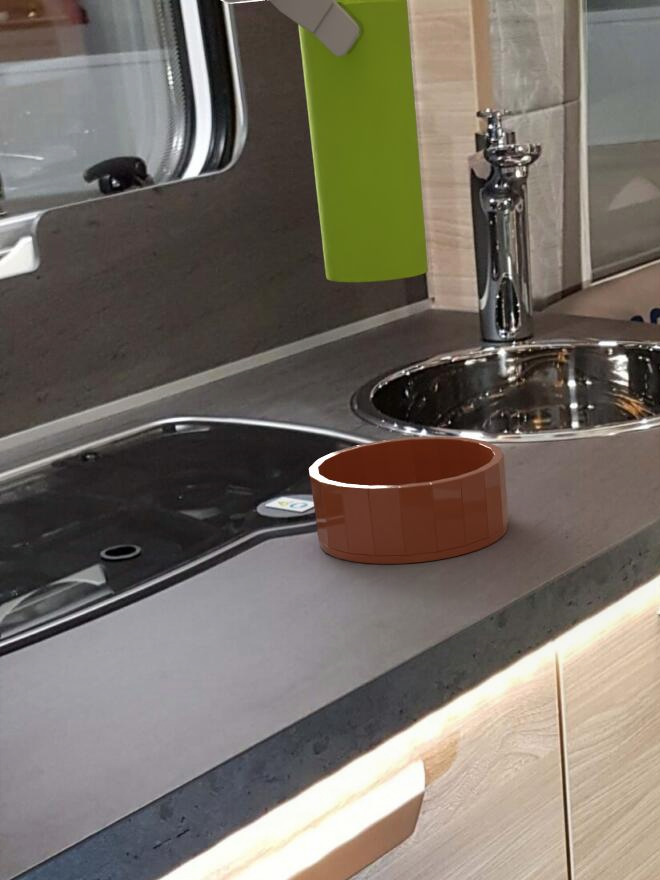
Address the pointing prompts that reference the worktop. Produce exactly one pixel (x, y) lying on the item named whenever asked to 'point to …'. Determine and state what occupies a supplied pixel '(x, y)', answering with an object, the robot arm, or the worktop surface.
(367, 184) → the soap dispenser
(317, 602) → the worktop surface
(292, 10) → the robot arm
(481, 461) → the bowl
